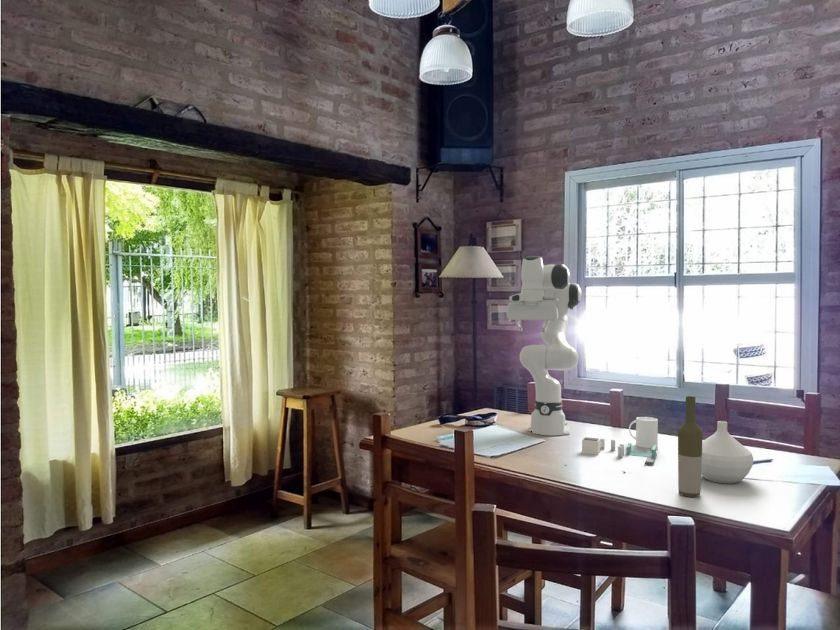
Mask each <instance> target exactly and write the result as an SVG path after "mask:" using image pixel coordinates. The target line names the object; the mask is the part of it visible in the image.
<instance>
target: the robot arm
mask: <svg viewBox="0 0 840 630" xmlns="http://www.w3.org/2000/svg"><path fill="white" fill-rule="evenodd" d="M543 262H544V261H543V257H542V256H539V255H531V256H529V255H528V256H525V257H523V259H522V263H521V272H520V279H521V288H520V292H519V293H518V292H517V293H516V294H513V295H510V296H509V303H508V304H507V307H506V319H508V320H509V321H515V325H516V326H517V329H518V330H517V331H518V332H523V329H524V327H523V326H521V324H520V323H521V321H543V324H542V327H541V333H540V337H541V339H542V340H541V341H543V342H544V343H545V344H530V345H525V346H524V347H522V348H521V350H520V352H519V361H520V363H521V365H522V366H523V367H524V368H525V369H526V370H527V371H528V372H529V373H530V375H531V376H532V379H533V382H534V388H535V389H534V390H535V400H534V410H533V411H532V412H531V413H530V414H531V416H530V427H526V429H527V430H529V431H528V432H531V431H532V432H531V433H532V434H535V433H536V434H535V435H539V434H540V435H541V436H562V435H566V436H567V435H570V433H571V426H570V425H568V423H567V422H566V414H565V413H564V411H563V400H562V385H561V383H560V381H559V380H557V379H556V378H554V377H552V376H551V375H550V374H549V371H569V370H573V369H575V368H576V366H577V365H578V363H579V353H578V351H577V350H576V349H575V347H573V346H571V345H570V344H569V343H568V340H567V332H568V329H569V328H568V327H569V309H570V310H571V311H572V310H573V309H574V307H576V306H577V305H579V303H580V301H581V298H582V293H583V291H582V289H581V286H580V284H578V283H575V282H570V280H571V274H570V269H569V267H567V265H566V264H563V263H561V264H544V263H543Z"/></svg>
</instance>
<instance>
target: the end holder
mask: <svg viewBox="0 0 840 630" xmlns="http://www.w3.org/2000/svg"><path fill="white" fill-rule="evenodd" d="M625 451H626V452H625V453H626V456H636V457H643V458H647V457H651V458H655V456H656V453H657V450H656V446H655V445H654V446H653V448H652V451H639V450H632V442H628V444H627V445H626V447H625ZM651 452H652V453H651ZM656 457H657V456H656Z"/></svg>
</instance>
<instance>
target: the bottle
mask: <svg viewBox="0 0 840 630" xmlns="http://www.w3.org/2000/svg"><path fill="white" fill-rule="evenodd" d="M695 419H696V396H685V422H684V423H683V424H682V425H681V426H680V427H679V428H678V429H677V430H678V431H677V463H678V464H677V468H678V470H677V471H678V473H677V474H678V475H677V478H678V481H677V483H678V484H677V485H678V487H677V488H678V490H677V491H678V493H679V494H680V495H682V496H684V497H687V498H688V497H689V498H697V497H700V496H701V492H702V491H701V490H702V475H701V467H702V441H703V433H704V432H703V430H702V429H701V427H700V426H699V425H698V424H697V423H696V420H695Z"/></svg>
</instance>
